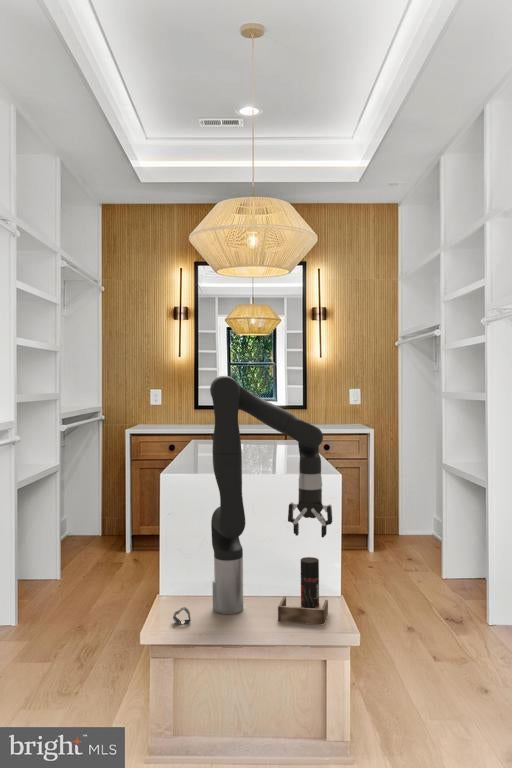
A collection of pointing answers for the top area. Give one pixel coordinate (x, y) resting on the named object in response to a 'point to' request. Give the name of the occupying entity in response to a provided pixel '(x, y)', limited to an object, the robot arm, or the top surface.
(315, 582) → the deodorant
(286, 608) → the wooden u-shaped frame
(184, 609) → the wristwatch
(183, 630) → the top surface
